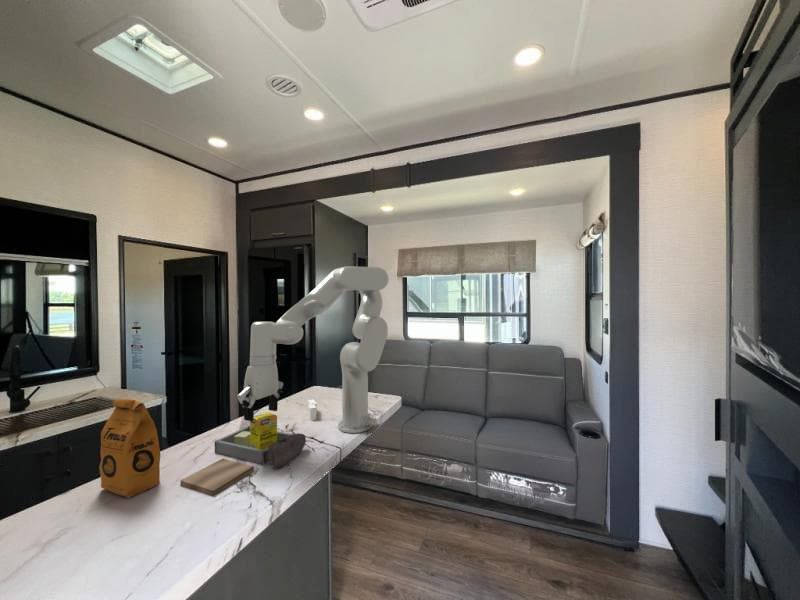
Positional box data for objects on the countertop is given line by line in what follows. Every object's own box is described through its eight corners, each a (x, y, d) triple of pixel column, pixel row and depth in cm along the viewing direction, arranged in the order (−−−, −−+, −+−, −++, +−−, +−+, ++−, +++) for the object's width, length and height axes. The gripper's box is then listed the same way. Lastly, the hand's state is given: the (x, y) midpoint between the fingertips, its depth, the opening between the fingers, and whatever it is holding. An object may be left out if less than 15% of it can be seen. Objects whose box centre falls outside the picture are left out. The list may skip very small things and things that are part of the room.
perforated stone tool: (299, 447, 100) (299, 425, 100) (312, 450, 98) (312, 428, 98) (261, 470, 86) (261, 445, 86) (276, 474, 84) (276, 448, 84)
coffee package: (119, 505, 71) (119, 409, 72) (94, 491, 77) (94, 402, 77) (167, 482, 80) (167, 397, 81) (141, 471, 86) (141, 392, 86)
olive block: (253, 444, 102) (253, 432, 102) (244, 449, 98) (244, 437, 98) (242, 443, 103) (242, 431, 103) (234, 448, 99) (234, 436, 99)
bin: (294, 445, 101) (294, 434, 101) (263, 464, 89) (263, 452, 89) (248, 435, 109) (248, 425, 109) (214, 452, 97) (214, 441, 97)
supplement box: (259, 457, 93) (259, 421, 93) (249, 451, 97) (249, 416, 97) (277, 449, 98) (277, 415, 98) (267, 444, 102) (267, 411, 102)
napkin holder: (307, 410, 136) (307, 397, 136) (331, 411, 134) (331, 398, 134) (288, 422, 121) (288, 408, 121) (314, 425, 119) (314, 410, 119)
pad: (253, 470, 86) (253, 466, 86) (213, 495, 75) (213, 490, 75) (222, 462, 90) (222, 458, 90) (180, 485, 79) (180, 480, 79)
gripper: (274, 356, 107) (272, 405, 107) (230, 364, 91) (228, 422, 91) (291, 357, 104) (290, 408, 104) (249, 366, 88) (247, 426, 88)
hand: (261, 415), depth 97 cm, fingers open, 9 cm apart
